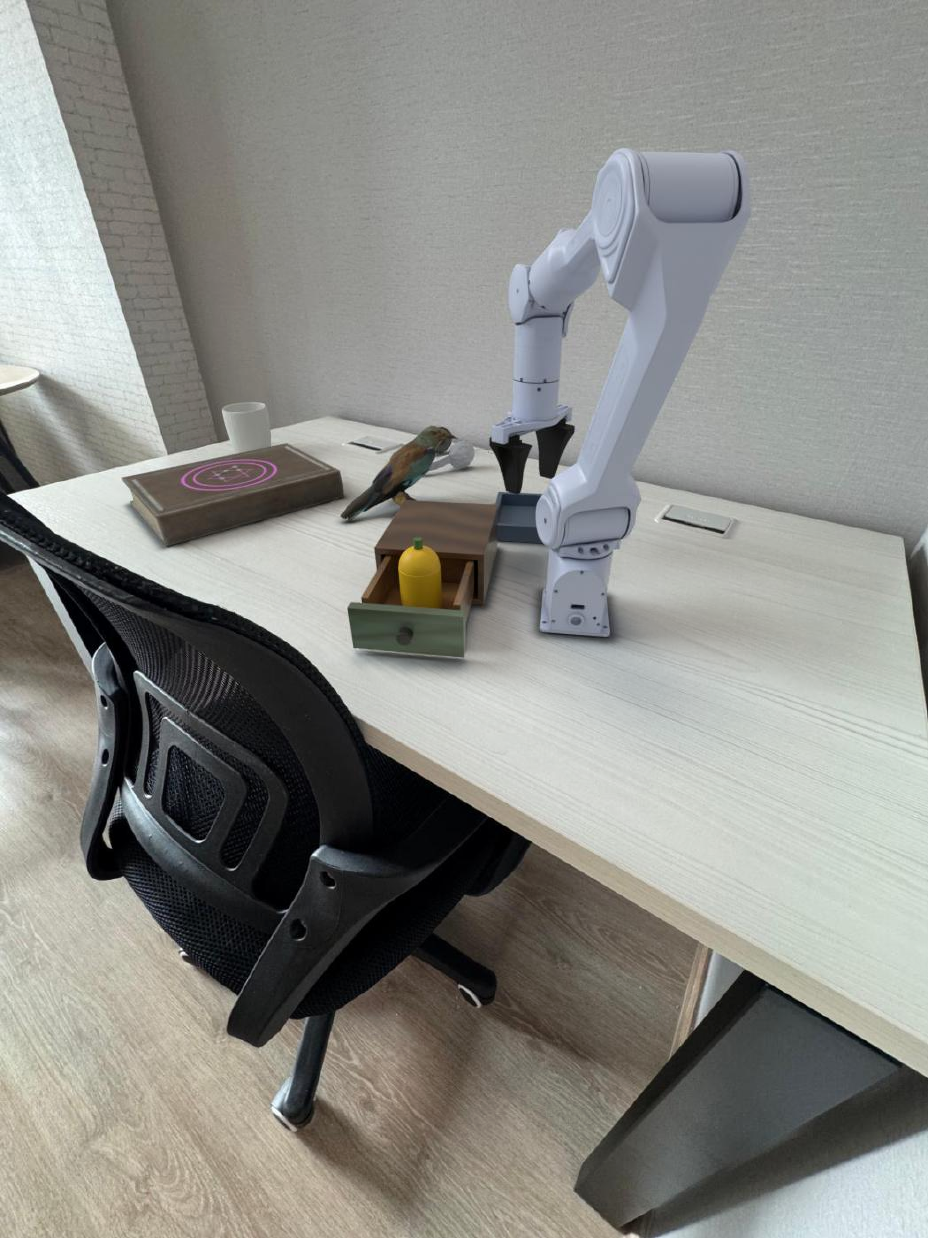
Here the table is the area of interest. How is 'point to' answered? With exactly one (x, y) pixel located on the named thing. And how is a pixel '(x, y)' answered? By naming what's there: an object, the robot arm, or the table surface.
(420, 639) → the drawer
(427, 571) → the pepper
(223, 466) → the book
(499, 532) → the tray
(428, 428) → the bird figurine
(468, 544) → the cabinet
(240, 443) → the mug
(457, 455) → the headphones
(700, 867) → the table surface
